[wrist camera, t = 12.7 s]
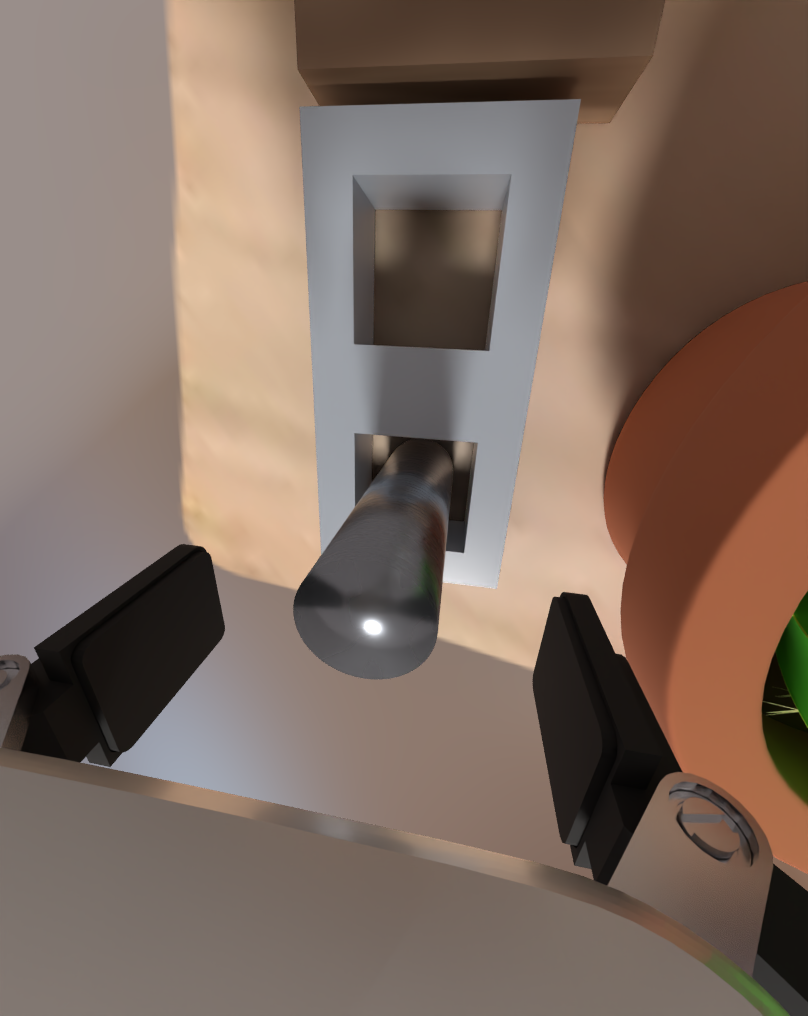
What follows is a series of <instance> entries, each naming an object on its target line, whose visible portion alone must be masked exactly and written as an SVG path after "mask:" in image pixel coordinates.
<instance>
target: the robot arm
mask: <svg viewBox="0 0 808 1016" xmlns="http://www.w3.org/2000/svg"><path fill="white" fill-rule="evenodd" d="M224 631H225V625H224V620H223V615H222V610H221V605H220V600H219V595H218V590H217V584H216V580H215V574H214V569H213V564H212V559H211V556H210V554H209V553H207V552H206V550H205V549H204V548H203V547H201V546H193V545H185V544H181V545H179V546H177V547H176V548H174V549H173V550H171V551H170V552H168V553H167V554H166V555H164V556H163V557H161V558H160V559H159V560H157V561H156V562H154V563H153V564H151V565H150V566H149V567H147V568H146V569H144V570H143V571H142V572H140V573H139V574H138V575H136V576H134V577H133V578H132V579H130V580H129V581H127V582H126V583H125V584H123V585H122V586H120V587H119V588H118V589H116V590H115V591H113V592H112V593H110V594H109V595H108V596H106V597H105V598H103V599H102V600H101V601H99V602H98V603H96V604H95V605H93V606H92V607H91V608H89V609H88V610H86V611H85V612H84V613H82V614H81V615H79V616H78V617H77V618H75V619H74V620H72V621H71V622H69V623H68V624H67V625H66V626H64V627H62V628H61V629H60V630H58V631H57V632H55V633H54V634H53V635H51V636H50V637H48V638H47V639H45V640H44V641H43V642H41V643H40V644H38V645H37V646H36V647H34V649H35V650H36V653H37V655H38V657H39V659H38V660H36V661H35V662H33V663H32V664H31V663H30V661H29V660H28V659H27V658H26V657H25V656H21V655H2V656H0V1016H808V891H807V890H805V889H804V888H803V887H802V886H800V885H799V884H798V883H796V882H795V881H794V880H793V879H792V878H790V877H789V876H788V875H787V874H785V873H784V872H783V871H782V870H780V869H779V868H778V867H777V866H775V865H774V864H773V852H772V849H771V847H770V844H769V842H768V839H767V837H766V834H765V833H764V831H763V830H762V828H761V827H760V826H759V824H758V823H757V821H756V820H755V818H754V817H753V816H752V815H751V814H750V812H749V811H748V810H747V809H746V808H745V807H744V806H743V805H742V804H741V803H740V802H739V801H738V800H737V799H735V798H734V797H733V796H732V795H730V794H729V793H728V792H727V791H725V790H724V789H723V788H721V787H720V786H718V785H716V784H714V783H713V782H711V781H709V780H707V779H705V778H703V777H700V776H697V775H694V774H691V773H683V772H682V770H681V768H680V766H679V764H678V762H677V760H676V758H675V756H674V754H673V752H672V750H671V747H670V745H669V743H668V741H667V739H666V737H665V735H664V733H663V731H662V729H661V727H660V725H659V723H658V721H657V719H656V717H655V715H654V713H653V711H652V709H651V707H650V705H649V703H648V701H647V699H646V697H645V695H644V693H643V691H642V689H641V687H640V685H639V683H638V681H637V679H636V676H635V674H634V672H633V670H632V668H631V666H630V664H629V663H628V661H627V659H626V658H625V657H624V656H622V655H620V654H615V652H614V650H613V648H612V645H611V643H610V641H609V639H608V637H607V635H606V632H605V630H604V628H603V626H602V624H601V622H600V620H599V617H598V615H597V613H596V611H595V609H594V607H593V605H592V602H591V600H590V598H589V597H588V596H587V595H583V594H575V593H567V592H563V593H562V594H561V595H560V597H553V599H552V602H551V606H550V610H549V614H548V618H547V622H546V626H545V630H544V634H543V638H542V642H541V646H540V650H539V654H538V658H537V661H536V665H535V669H534V674H533V691H534V697H535V702H536V708H537V713H538V719H539V724H540V729H541V735H542V741H543V746H544V752H545V757H546V763H547V768H548V774H549V779H550V785H551V790H552V795H553V801H554V807H555V812H556V817H557V823H558V828H559V833H560V837H561V840H562V842H563V843H565V844H570V847H571V852H572V856H573V862H574V865H575V866H579V867H584V868H589V869H592V873H593V878H594V880H591V879H589V878H586V877H584V876H580V875H577V874H573V873H570V872H567V871H564V870H560V869H557V868H553V867H550V866H546V865H543V864H540V863H536V862H533V861H529V860H524V859H520V858H516V857H511V856H508V855H503V854H499V853H495V852H491V851H486V850H483V849H478V848H474V847H470V846H466V845H461V844H458V843H453V842H449V841H445V840H441V839H436V838H431V837H427V836H422V835H418V834H413V833H409V832H403V831H399V830H395V829H390V828H386V827H381V826H376V825H372V824H367V823H363V822H358V821H354V820H349V819H345V818H340V817H336V816H331V815H326V814H322V813H317V812H312V811H308V810H303V809H299V808H294V807H289V806H285V805H279V804H275V803H271V802H266V801H261V800H257V799H252V798H247V797H242V796H237V795H233V794H228V793H224V792H219V791H214V790H209V789H205V788H200V787H195V786H190V785H186V784H181V783H176V782H171V781H167V780H162V779H157V778H152V777H147V776H142V775H138V774H133V773H128V772H123V771H118V770H113V769H109V768H104V767H99V766H94V765H89V764H84V763H80V762H81V761H82V760H83V759H84V758H85V757H87V759H88V761H89V762H90V763H94V764H99V765H104V766H108V767H111V766H112V764H113V763H114V762H115V761H116V760H117V758H118V757H119V756H120V755H121V754H122V752H126V751H127V750H129V749H130V748H131V747H132V746H133V745H134V744H135V743H136V742H137V741H138V739H139V738H140V737H141V736H142V734H143V733H144V732H145V731H146V730H147V728H148V727H149V726H150V725H151V724H152V722H153V721H154V720H155V719H156V718H157V716H158V715H159V714H160V713H161V712H162V710H163V709H164V708H165V707H166V705H167V704H168V703H169V702H170V701H171V699H172V698H173V697H174V696H175V695H176V693H177V692H178V691H179V690H180V689H181V687H182V686H183V685H184V684H185V682H186V681H187V680H188V679H189V678H190V676H191V675H192V674H193V673H194V672H195V670H196V669H197V668H198V667H199V665H200V664H201V663H202V662H203V661H204V660H205V658H206V657H207V656H208V655H209V654H210V652H211V651H212V650H213V649H214V647H215V646H216V645H217V644H218V642H219V641H220V640H221V639H222V637H223V635H224Z"/></svg>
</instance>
